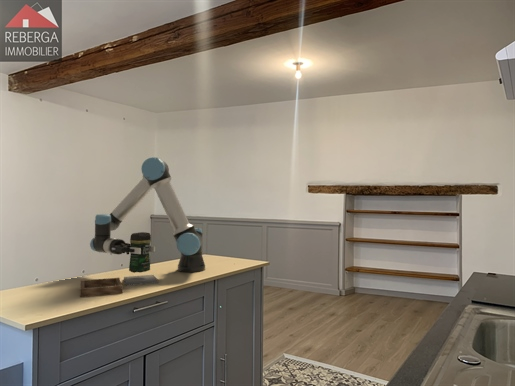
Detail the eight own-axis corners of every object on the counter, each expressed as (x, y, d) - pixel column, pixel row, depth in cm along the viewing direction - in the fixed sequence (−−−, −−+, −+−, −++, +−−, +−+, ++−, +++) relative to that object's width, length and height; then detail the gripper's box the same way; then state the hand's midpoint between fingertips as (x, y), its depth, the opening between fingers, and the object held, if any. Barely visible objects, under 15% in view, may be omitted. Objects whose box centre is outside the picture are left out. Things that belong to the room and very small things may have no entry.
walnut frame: (118, 284, 176) (118, 277, 176) (122, 293, 159) (122, 285, 159) (80, 287, 169) (80, 280, 169) (80, 297, 153) (80, 289, 153)
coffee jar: (139, 273, 176) (140, 233, 176) (126, 272, 179) (127, 232, 179) (153, 270, 185) (154, 232, 185) (140, 268, 188) (141, 231, 188)
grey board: (153, 277, 191) (153, 274, 191) (158, 283, 179) (158, 279, 179) (123, 279, 185) (123, 276, 185) (126, 285, 173) (126, 282, 173)
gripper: (131, 251, 200) (163, 255, 189) (96, 256, 182) (129, 261, 170) (131, 237, 200) (163, 240, 189) (97, 240, 182) (130, 244, 171)
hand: (147, 250), depth 180 cm, fingers closed on coffee jar, 8 cm apart
